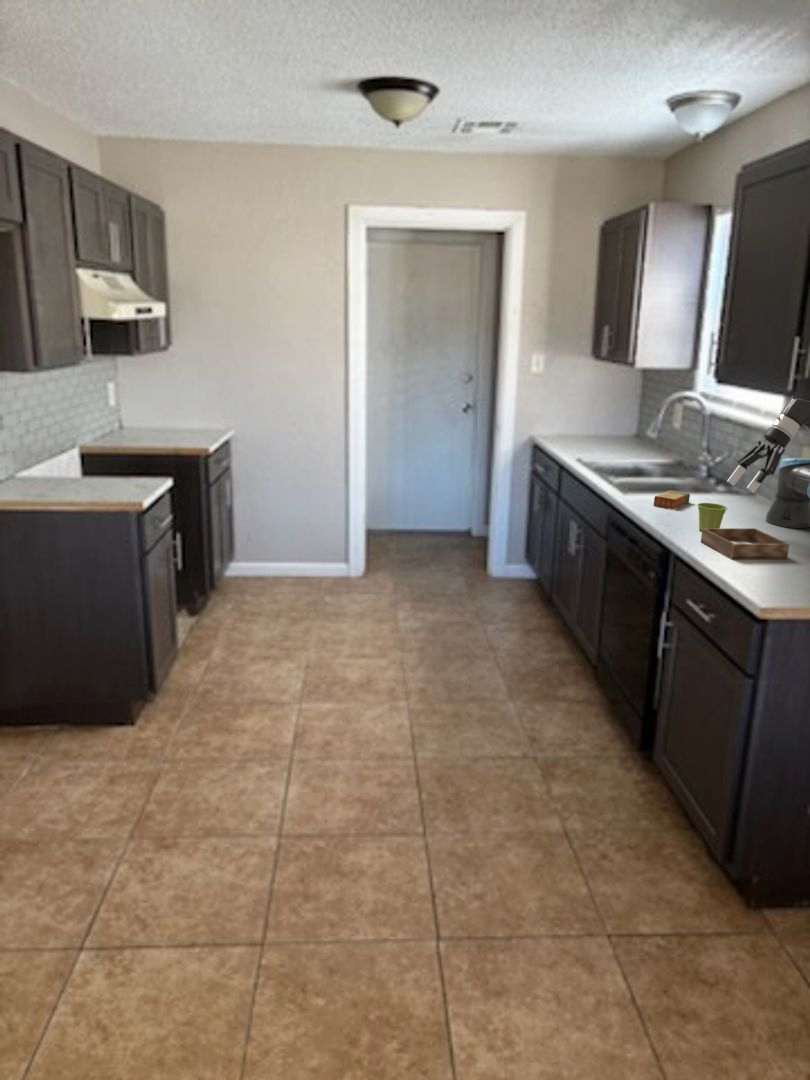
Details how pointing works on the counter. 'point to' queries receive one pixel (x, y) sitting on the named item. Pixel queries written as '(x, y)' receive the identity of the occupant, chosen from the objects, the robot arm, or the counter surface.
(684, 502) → the carton
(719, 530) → the brown wooden square tray
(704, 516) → the plant pot
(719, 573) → the counter surface
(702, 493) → the counter surface
